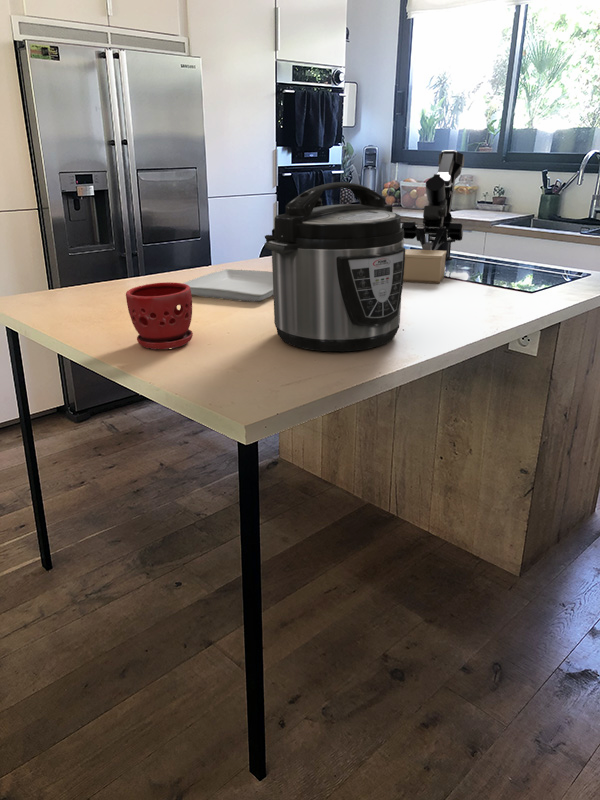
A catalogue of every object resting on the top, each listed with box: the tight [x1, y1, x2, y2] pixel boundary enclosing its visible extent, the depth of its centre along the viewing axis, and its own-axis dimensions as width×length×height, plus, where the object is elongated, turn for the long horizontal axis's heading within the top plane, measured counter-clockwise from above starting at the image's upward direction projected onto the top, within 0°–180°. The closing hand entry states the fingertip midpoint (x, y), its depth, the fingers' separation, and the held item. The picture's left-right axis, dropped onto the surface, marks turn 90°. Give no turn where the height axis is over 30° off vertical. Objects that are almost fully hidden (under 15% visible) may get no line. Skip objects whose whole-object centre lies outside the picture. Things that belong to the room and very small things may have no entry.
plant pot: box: [125, 281, 194, 350], centre depth 133 cm, size 13×13×12 cm
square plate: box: [182, 268, 273, 302], centre depth 182 cm, size 27×27×4 cm
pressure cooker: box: [264, 181, 406, 352], centre depth 132 cm, size 30×28×32 cm
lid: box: [405, 241, 447, 259], centre depth 194 cm, size 17×12×3 cm
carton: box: [403, 255, 446, 285], centre depth 192 cm, size 10×12×7 cm
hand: (427, 252), depth 199 cm, fingers closed on lid, 2 cm apart
